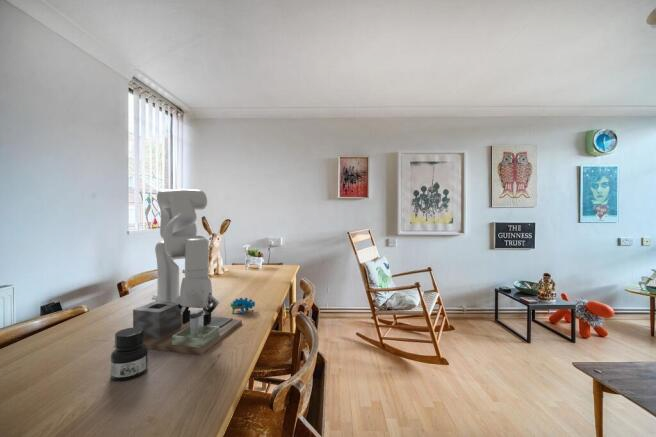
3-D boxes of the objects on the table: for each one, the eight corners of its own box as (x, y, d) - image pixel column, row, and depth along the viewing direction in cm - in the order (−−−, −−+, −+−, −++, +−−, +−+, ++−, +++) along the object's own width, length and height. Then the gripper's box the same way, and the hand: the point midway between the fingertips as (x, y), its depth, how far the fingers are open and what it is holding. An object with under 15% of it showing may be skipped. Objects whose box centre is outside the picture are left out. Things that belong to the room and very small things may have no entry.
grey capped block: (195, 341, 103) (195, 315, 103) (187, 341, 103) (187, 315, 103) (205, 334, 109) (205, 310, 108) (197, 334, 109) (198, 309, 109)
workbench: (114, 345, 104) (114, 313, 104) (171, 317, 132) (171, 292, 131) (201, 355, 98) (201, 321, 98) (241, 323, 126) (242, 297, 125)
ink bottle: (104, 384, 81) (104, 340, 81) (113, 368, 89) (113, 328, 89) (147, 377, 85) (146, 335, 84) (151, 362, 93) (151, 324, 92)
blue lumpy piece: (257, 305, 144) (251, 295, 137) (256, 317, 140) (249, 307, 133) (235, 308, 144) (227, 297, 137) (233, 320, 140) (225, 310, 133)
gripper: (167, 274, 103) (167, 325, 104) (213, 277, 100) (213, 330, 101) (181, 270, 111) (181, 317, 111) (225, 272, 107) (225, 321, 108)
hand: (196, 323), depth 106 cm, fingers open, 7 cm apart
